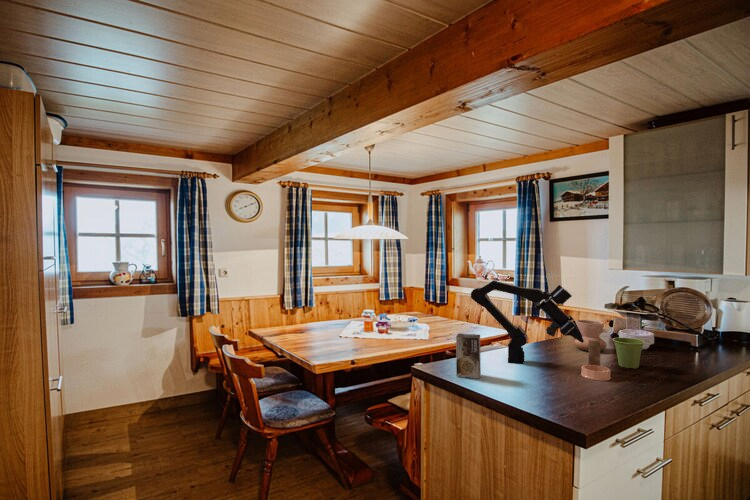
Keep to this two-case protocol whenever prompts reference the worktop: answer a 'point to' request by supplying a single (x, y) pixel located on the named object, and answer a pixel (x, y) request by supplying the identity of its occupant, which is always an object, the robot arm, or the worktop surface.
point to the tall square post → (594, 353)
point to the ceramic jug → (590, 334)
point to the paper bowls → (638, 336)
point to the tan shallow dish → (596, 372)
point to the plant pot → (628, 351)
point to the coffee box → (468, 355)
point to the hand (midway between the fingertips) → (582, 339)
